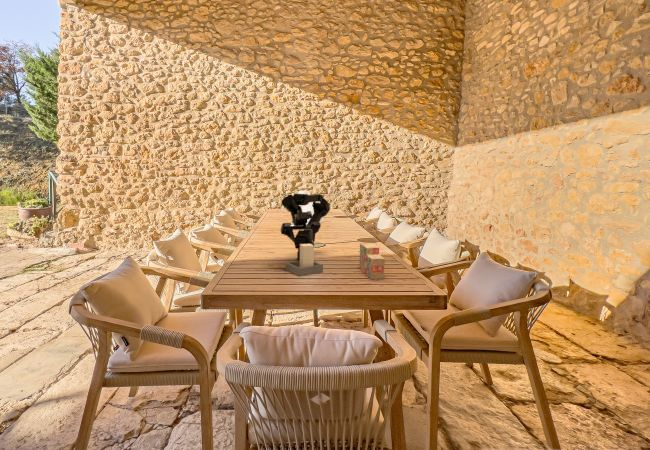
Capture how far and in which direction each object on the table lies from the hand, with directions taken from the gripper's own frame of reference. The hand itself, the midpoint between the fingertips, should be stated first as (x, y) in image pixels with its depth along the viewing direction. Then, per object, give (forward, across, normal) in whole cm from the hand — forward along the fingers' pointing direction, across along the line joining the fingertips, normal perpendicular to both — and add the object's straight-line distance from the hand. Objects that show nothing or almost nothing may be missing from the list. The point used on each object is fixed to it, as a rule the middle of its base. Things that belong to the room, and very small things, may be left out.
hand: (304, 242), depth 174 cm
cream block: (+11, 0, +7) cm, 13 cm away
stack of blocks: (+19, +28, 0) cm, 34 cm away
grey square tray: (+10, -1, +9) cm, 13 cm away
